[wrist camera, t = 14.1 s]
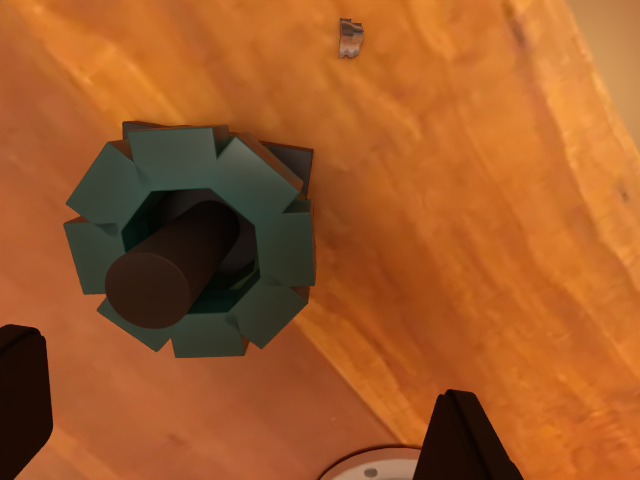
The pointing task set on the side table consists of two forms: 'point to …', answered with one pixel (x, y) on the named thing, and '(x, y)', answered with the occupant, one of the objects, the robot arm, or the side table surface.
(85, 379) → the side table surface
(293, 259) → the teal ring
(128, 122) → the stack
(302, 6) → the side table surface
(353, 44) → the figurine
